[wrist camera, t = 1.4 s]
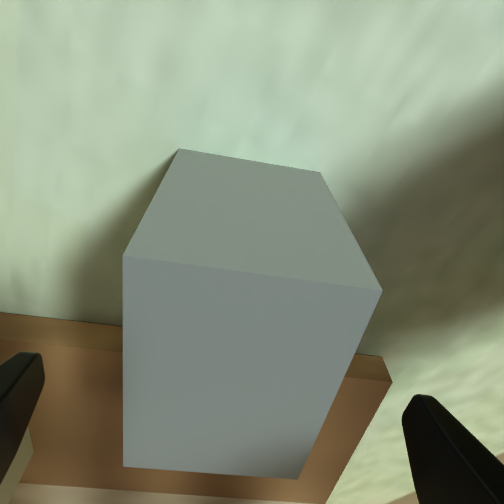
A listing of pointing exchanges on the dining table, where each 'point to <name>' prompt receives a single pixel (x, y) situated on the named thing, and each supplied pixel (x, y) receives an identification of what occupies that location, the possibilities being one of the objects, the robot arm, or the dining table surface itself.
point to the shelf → (111, 428)
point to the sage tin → (16, 469)
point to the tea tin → (238, 317)
